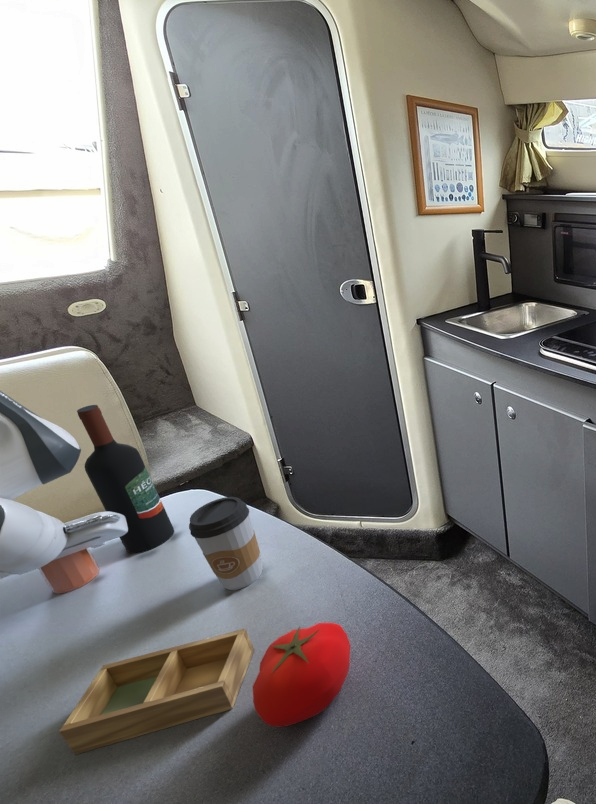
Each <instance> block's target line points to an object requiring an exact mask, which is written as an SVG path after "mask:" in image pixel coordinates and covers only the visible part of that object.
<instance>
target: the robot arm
mask: <svg viewBox="0 0 596 804" xmlns="http://www.w3.org/2000/svg"><path fill="white" fill-rule="evenodd" d="M81 453H82V448H81V447H80V445H79V443H78V441H77V440H76V438H75V437H74V436H73V435H72V434H71V433H70V432H68V431H67V430H66V429H64V428H63V427H61V426H60V425H57V424H56V423H54V422H51V421H49V420H47V419H44V418H43V417H41V416H40V415H38V414H37V413H35V412H33V411H32V410H30V409H29V408H27V407H26V406H24V405H23V404H21V403H20V402H18V401H17V400H15V399H14V398H12V397H11V396H9V395H7V394H6V393H4V392H3V391H1V390H0V580H2V579H4V578H7V577H11V576H13V575H19V576H22V575H25V574H27V573H29V572H32V571H33V572H34V571H36V570H39V569H38V568H41V567H43V566H44V565H46V564H48V563H49V562H51V561H53V560H55V559H58V558H61V557H64V556H67V555H70V554H72V553H75V552H78V551H81V550H84V549H87V548H88V549H89V548H92V549H97V548H99V547H102V546H105V545H106V543H107V542H109V541H112V540H115V539H118V538H119V537H121V536H123V535H125V534H126V533H127V532H128V526H127V522H126V518H125V516H124V515H122V514H119V513H115V512H110V511H106V510H104V511H98V512H95V513H91V514H88V515H85V516H82V517H78V518H76V519H72V520H69V521H67V522H63V521H61V520H60V519H59V518H57V517H54V516H51V515H50V514H48V513H45V512H42V511H40V510H36V509H34V508H32V507H31V506H29V505H26V504H24V503H22V502H19V501H16V499H17V498H19V497H21V496H23V495H25V494H27V493H29V492H30V491H32V490H35V489H37V488H38V487H40V486H42V485H46V484H48V483H50V482H53V481H55V480H57V479H59V478H62V477H63V476H66V475H68V474H70V473H72V471H73V469H74V468H75V466H76V465H77V462H78V461H79V458H80V455H81Z"/></svg>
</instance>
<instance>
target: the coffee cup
mask: <svg viewBox="0 0 596 804" xmlns="http://www.w3.org/2000/svg"><path fill="white" fill-rule="evenodd" d="M188 529H189V531H190V532H189V533H190V535H191V537H193V538H194V539H195V542H196V543H197V545H198V546H199V549H200V550H201V552H202V555H203V557H204V559H205V560H206V562H207V563H208V565H209V567H210V569H211V570H212V572H213V574H214V575H215V577H216V578H217V580H218V582H219V583H220V585H221V586H222V588H225V589H226V590H228V591H236V590H240V589H243V588H246V587H248V586H250V585H251V584H253V583H254V582H255V581H257V580H258V579H259V578H260V576H261V575H262V573H263V570H264V564H263V561H262V557H261V551H260V547H259V544H258V539H257V536H256V532H255V529H254V527H253V524H252V521H251V517H250V508H249V507H248V505H247V503H246V502H244V501H243V500H242V499H241V498H240V497H238V496H226V497H221V498H217V499H215V500H212V501H210V502H207V503H205V504H203V505H202V506H200V507H199V508H197V509H196V510H195V511H194V512H193V513H191V515H190V517H189V524H188Z"/></svg>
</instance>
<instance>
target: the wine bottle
mask: <svg viewBox="0 0 596 804" xmlns="http://www.w3.org/2000/svg"><path fill="white" fill-rule="evenodd" d="M76 413H77V416H78V418H79V420H80V421H81V423H82V425H83V427H84V429H85V431H86V433H87V435H88V437H89V439H90V441H91V443H92V445H93V451H92V452H91V453H90V455H89V456H88V457H87V458H86V460H85V463H84V471H85V472H86V475H87V477H88V479H89V481H90V483H91V485H92V486H93V489H94V490H95V493H96V494H97V497H98V498H99V500H100V502H101V505H102V506H103V508H104V511H110V512H115V513H119V514H122V515H124V516H125V518H126V522H127V526H128V532H127V533H126V534H125V535H123V536H121V537H118V538H119V540H120V541H121V544H122V545H123V548H124V549H125V551H126V552H127V553H129V554H140V553H144V552H147V551H150V550H152V549H155V548H157V547H159V546H161V545H163V544H164V543H166V542H167V541H168V540H170V539H171V537H172V536H173V535H174V533H175V528H174V526H173V524H172V522H171V520H170V518H169V515H168V513H167V511H166V509H165V507H164V504H163V502H162V500H161V497H160V496H159V493H158V491H157V489H156V487H155V485H154V482H153V480H152V478H151V476H150V474H149V471H148V469H147V466H146V465H145V462H144V461H143V458H142V455H141V454H140V451H139V450H138V449H137V448H136V447H134V446H132V445H130V444H127V443H120V442H117V441H116V440H115V439H114V436H113V435H112V433H111V431H110V428H109V427H108V424H107V422H106V420H105V418H104V416H103V412H102V410H101V408H100V407H99V405H98V404H91V405H86V406H83V407H80V408H78V409H77V410H76Z"/></svg>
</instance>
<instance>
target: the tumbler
mask: <svg viewBox="0 0 596 804" xmlns="http://www.w3.org/2000/svg"><path fill="white" fill-rule="evenodd" d="M37 570H38V571H39V573H40V574H41V575H42V577H43V580H44V581H45V582H46V584H47V586H48V587H49V589H50V591H52V592H53V593H54V594H66V593H69V592H73V591H75V590H77V589H79V588H81V587H83V586H86V585H88V584H89V583H90V582H91V581H92V580H94V579H95V578H96V577H97V576H98V575H99V573H100V568H99V565H98V563H97V561H96V560H95V558H94V555H93V554H92V552H91V550H90V549H89V548H87V549H84V550H81V551H78V552H75V553H72V554H70V555H67V556H64V557H61V558H58V559H55V560H53V561H51V562H49V563H48V564H46V565H44V566H43V567H41V568H38V569H37Z"/></svg>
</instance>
